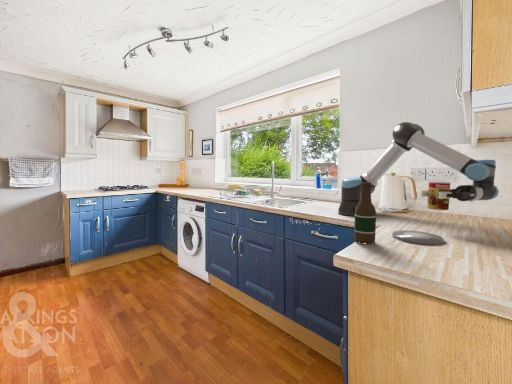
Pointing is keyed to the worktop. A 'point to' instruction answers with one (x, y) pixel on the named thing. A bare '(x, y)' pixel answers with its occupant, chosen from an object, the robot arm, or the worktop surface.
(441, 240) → the plate
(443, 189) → the canned food
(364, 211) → the beer bottle
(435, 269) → the worktop surface
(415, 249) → the worktop surface
